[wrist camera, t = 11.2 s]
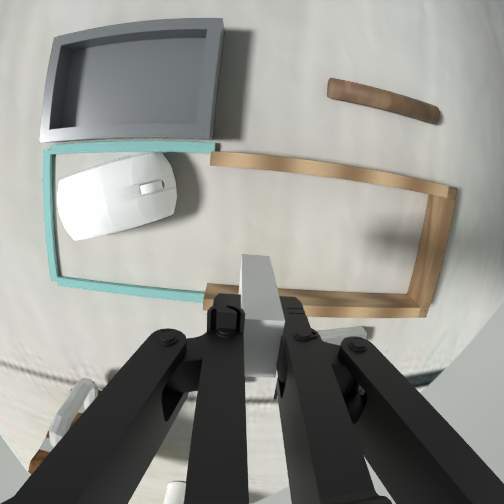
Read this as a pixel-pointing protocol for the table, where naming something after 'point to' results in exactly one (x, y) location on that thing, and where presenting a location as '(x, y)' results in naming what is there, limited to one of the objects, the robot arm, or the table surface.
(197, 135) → the grey tray
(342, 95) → the walnut dowel
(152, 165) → the computer mouse
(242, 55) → the table surface
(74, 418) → the mug
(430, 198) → the wooden u-shaped frame
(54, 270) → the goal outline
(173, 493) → the drinking glass
